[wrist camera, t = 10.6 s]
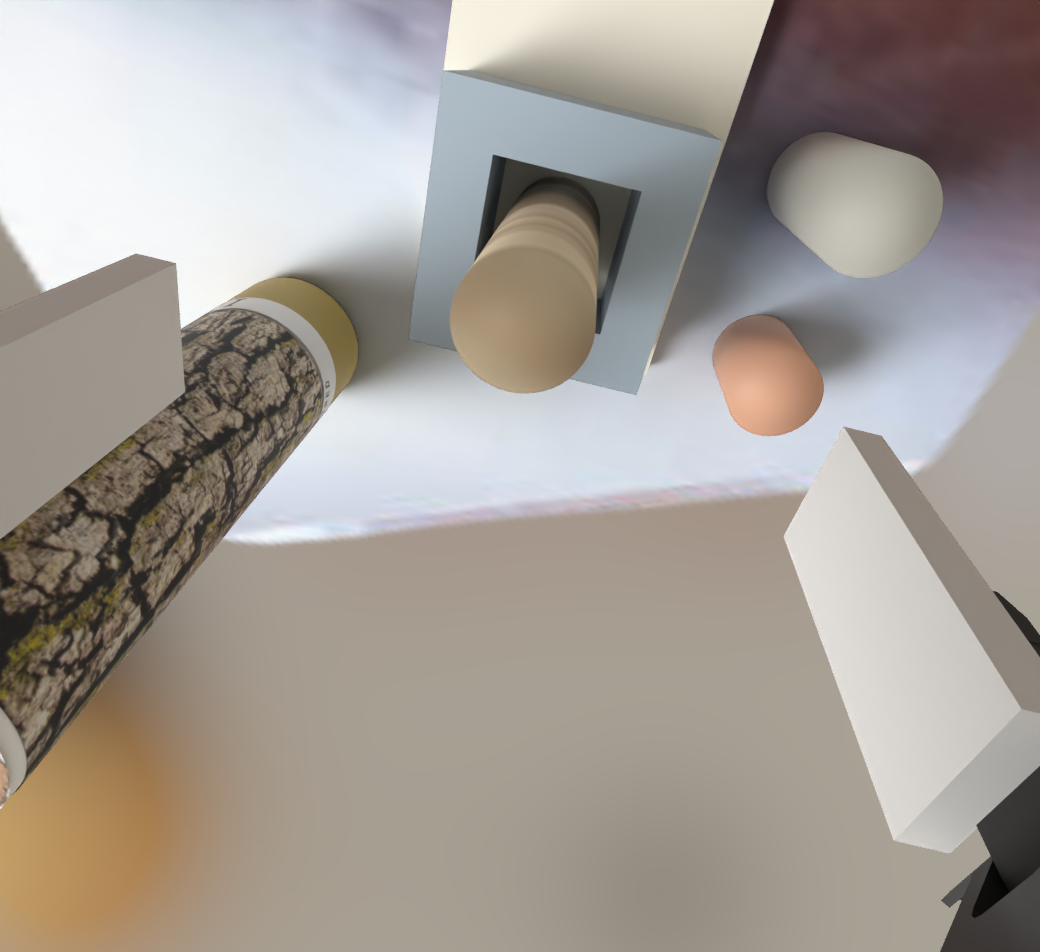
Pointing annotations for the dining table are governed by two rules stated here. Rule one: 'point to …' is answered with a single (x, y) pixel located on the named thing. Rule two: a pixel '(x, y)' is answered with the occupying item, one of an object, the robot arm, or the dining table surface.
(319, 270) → the dining table surface
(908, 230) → the medium dowel
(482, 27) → the socket board
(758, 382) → the short dowel
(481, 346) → the long dowel
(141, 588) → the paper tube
